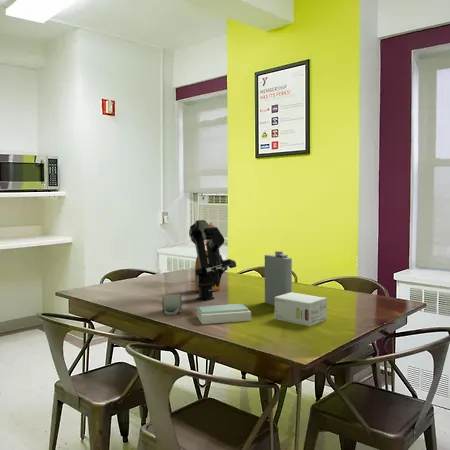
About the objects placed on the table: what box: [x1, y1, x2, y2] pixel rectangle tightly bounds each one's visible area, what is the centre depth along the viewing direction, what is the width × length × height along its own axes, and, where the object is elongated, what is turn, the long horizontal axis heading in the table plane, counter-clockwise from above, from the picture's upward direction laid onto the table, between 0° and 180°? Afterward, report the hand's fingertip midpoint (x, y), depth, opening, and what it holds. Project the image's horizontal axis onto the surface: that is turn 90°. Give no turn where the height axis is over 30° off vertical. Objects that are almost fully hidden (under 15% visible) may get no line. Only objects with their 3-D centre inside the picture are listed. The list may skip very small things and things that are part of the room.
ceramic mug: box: [161, 293, 182, 316], centre depth 201 cm, size 11×8×8 cm
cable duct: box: [194, 303, 252, 325], centre depth 191 cm, size 21×12×4 cm, turn 104°
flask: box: [264, 250, 293, 306], centre depth 212 cm, size 17×5×25 cm, turn 31°
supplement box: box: [274, 291, 328, 327], centre depth 188 cm, size 17×13×9 cm
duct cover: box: [197, 303, 249, 314], centre depth 191 cm, size 19×9×1 cm, turn 104°
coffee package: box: [194, 249, 221, 292], centre depth 246 cm, size 10×12×22 cm
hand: (217, 286), depth 207 cm, fingers closed
